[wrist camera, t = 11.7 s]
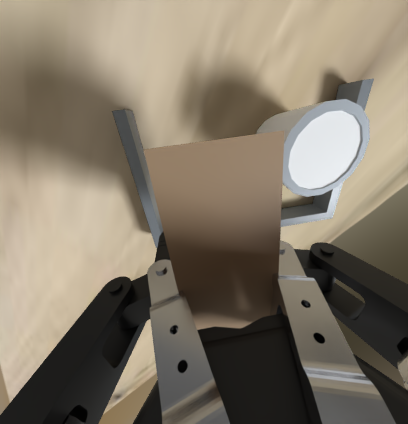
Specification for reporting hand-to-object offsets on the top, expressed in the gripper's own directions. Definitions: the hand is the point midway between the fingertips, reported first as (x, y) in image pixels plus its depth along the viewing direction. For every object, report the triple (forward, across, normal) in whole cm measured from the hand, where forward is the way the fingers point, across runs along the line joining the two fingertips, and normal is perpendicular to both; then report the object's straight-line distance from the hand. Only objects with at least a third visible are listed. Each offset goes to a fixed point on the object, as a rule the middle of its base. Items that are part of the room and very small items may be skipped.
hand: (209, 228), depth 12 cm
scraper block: (+1, 0, -2) cm, 2 cm away
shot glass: (+9, -9, -4) cm, 13 cm away
